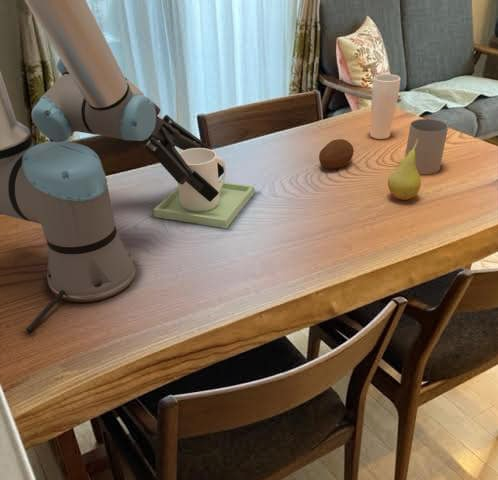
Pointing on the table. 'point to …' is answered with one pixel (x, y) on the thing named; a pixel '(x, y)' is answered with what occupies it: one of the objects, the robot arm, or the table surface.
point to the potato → (336, 154)
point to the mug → (207, 169)
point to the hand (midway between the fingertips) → (218, 185)
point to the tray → (220, 216)
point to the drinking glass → (383, 104)
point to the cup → (427, 144)
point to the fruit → (405, 178)
